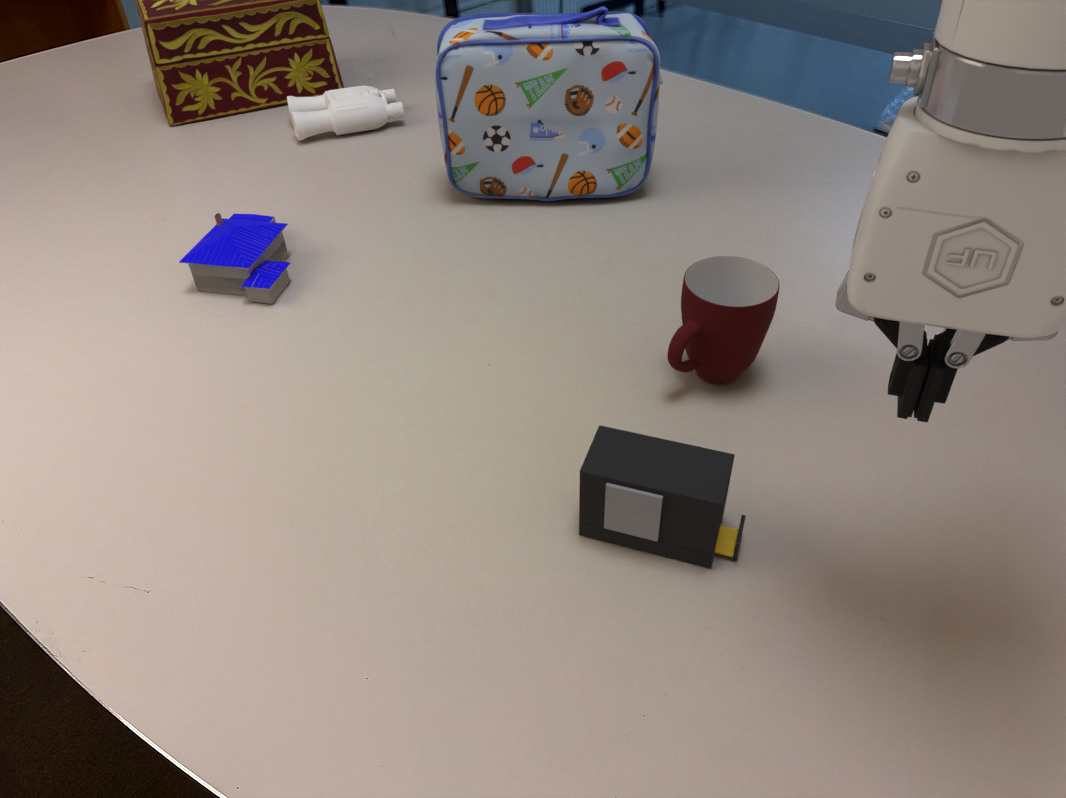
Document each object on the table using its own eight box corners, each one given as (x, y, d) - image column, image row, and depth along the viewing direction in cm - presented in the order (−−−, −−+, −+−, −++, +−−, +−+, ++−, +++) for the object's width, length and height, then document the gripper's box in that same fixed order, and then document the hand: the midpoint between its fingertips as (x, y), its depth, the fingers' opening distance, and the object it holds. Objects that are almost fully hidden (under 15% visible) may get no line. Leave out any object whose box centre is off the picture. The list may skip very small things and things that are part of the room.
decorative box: (169, 127, 123) (134, 23, 113) (156, 88, 136) (124, -9, 126) (346, 93, 131) (328, -7, 122) (318, 60, 144) (299, -33, 134)
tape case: (723, 516, 62) (735, 451, 58) (710, 572, 58) (722, 507, 54) (597, 486, 65) (600, 422, 60) (577, 538, 61) (578, 473, 56)
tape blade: (742, 532, 61) (746, 515, 59) (736, 561, 59) (740, 543, 57) (617, 502, 63) (618, 485, 62) (607, 529, 61) (608, 511, 60)
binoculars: (290, 120, 124) (283, 89, 121) (393, 104, 127) (389, 74, 124) (298, 147, 116) (291, 115, 113) (407, 129, 120) (403, 98, 117)
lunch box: (652, 166, 108) (665, -13, 94) (664, 202, 101) (681, 13, 86) (447, 174, 108) (428, -4, 94) (443, 212, 100) (422, 24, 86)
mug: (711, 426, 70) (726, 333, 63) (638, 385, 74) (645, 294, 68) (778, 370, 75) (798, 278, 69) (707, 335, 80) (719, 245, 73)
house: (326, 239, 96) (316, 196, 92) (274, 307, 86) (261, 261, 82) (239, 232, 98) (226, 189, 94) (178, 297, 88) (161, 252, 84)
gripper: (829, 105, 35) (771, 423, 47) (1246, 134, 30) (1065, 476, 42) (840, 49, 40) (786, 347, 52) (1197, 67, 36) (1049, 387, 48)
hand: (912, 404), depth 47 cm, fingers closed
